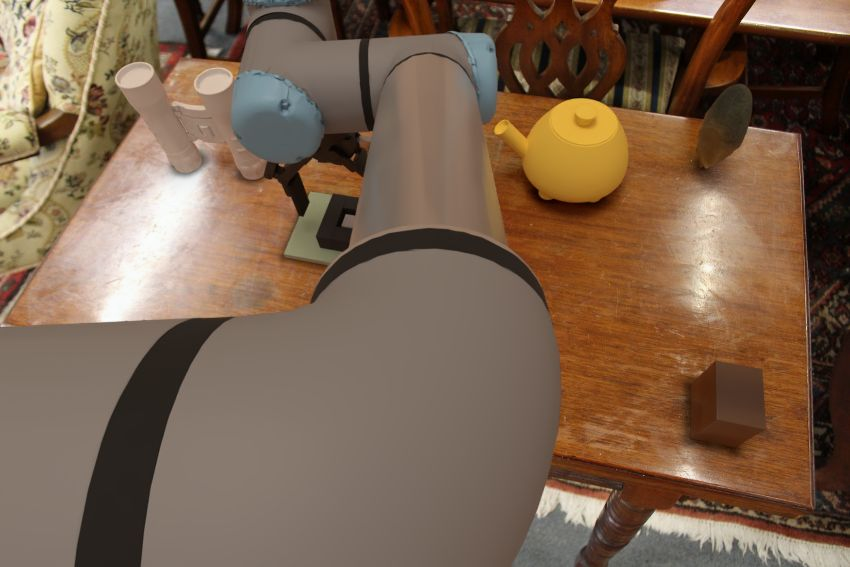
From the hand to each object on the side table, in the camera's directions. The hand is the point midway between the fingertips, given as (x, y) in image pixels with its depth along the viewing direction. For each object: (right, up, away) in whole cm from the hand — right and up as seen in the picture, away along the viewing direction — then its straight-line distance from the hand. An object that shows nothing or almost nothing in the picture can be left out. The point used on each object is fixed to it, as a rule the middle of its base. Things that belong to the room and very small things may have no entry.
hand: (348, 216), depth 80 cm
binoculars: (-23, +10, +13) cm, 28 cm away
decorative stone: (+54, +8, +7) cm, 55 cm away
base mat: (0, -2, +4) cm, 5 cm away
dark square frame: (0, -2, +4) cm, 4 cm away
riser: (+46, -26, -12) cm, 54 cm away
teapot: (+31, +7, +8) cm, 33 cm away
